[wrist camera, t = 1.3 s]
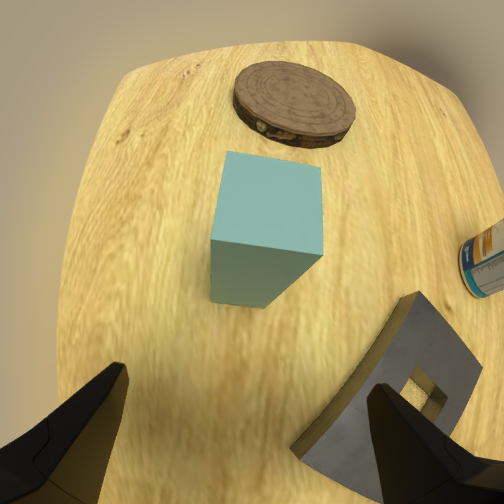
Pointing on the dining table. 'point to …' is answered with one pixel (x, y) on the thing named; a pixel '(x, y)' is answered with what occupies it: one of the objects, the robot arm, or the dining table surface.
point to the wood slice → (293, 104)
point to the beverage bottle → (484, 261)
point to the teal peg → (264, 228)
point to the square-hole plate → (395, 375)
